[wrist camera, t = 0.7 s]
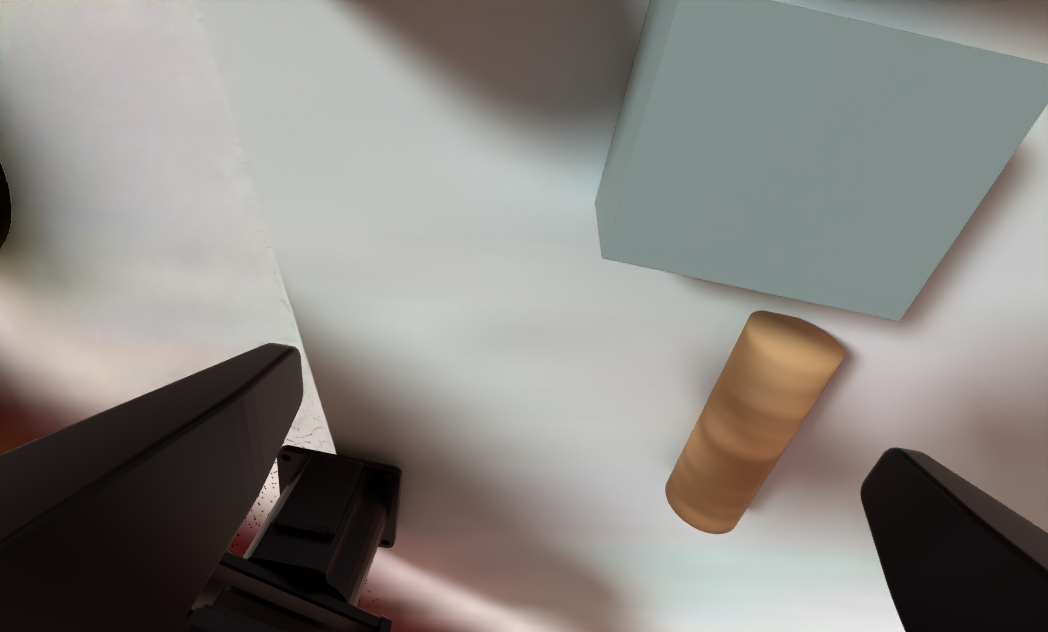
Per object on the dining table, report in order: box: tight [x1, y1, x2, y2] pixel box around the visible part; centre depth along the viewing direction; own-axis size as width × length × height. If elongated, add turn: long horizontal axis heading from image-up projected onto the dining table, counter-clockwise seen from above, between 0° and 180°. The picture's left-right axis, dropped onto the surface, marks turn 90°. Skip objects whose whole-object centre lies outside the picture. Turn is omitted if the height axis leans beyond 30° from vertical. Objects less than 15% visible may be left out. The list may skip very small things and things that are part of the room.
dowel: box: [665, 311, 844, 534], centre depth 23 cm, size 10×4×4 cm, turn 169°
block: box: [595, 0, 1048, 321], centre depth 16 cm, size 7×9×5 cm
